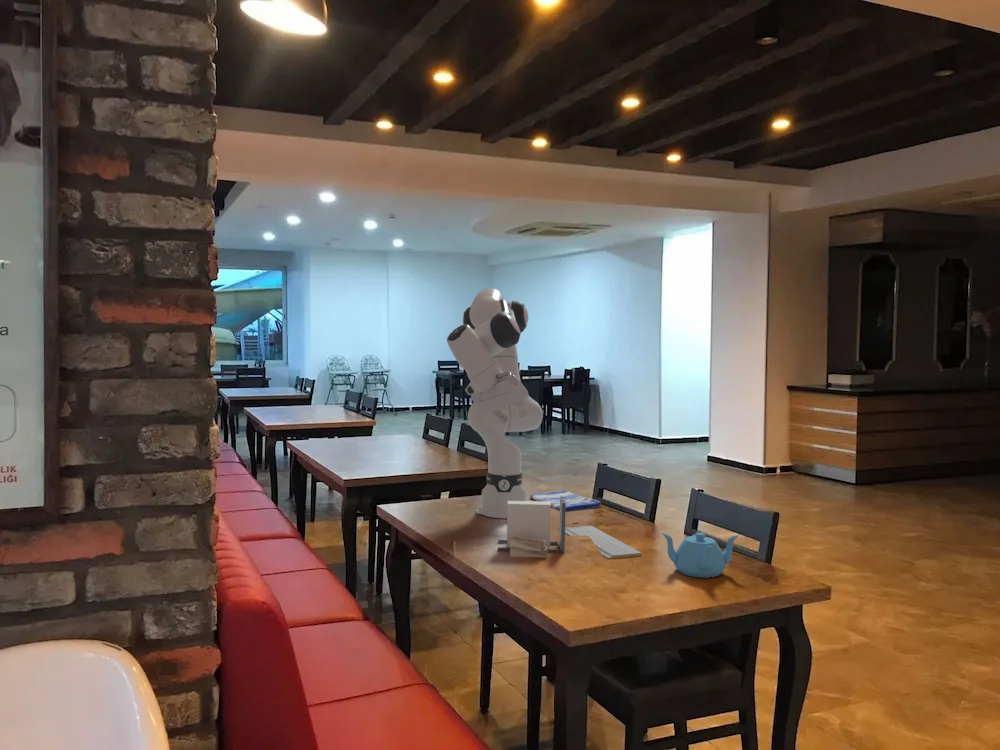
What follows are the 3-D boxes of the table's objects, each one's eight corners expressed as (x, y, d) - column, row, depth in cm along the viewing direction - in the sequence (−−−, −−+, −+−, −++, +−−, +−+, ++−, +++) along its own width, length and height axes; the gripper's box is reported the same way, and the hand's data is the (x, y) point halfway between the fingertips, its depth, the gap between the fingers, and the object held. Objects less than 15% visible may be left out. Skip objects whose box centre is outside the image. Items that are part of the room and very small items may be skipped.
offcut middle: (510, 551, 212) (511, 544, 212) (547, 553, 211) (547, 546, 211) (509, 556, 208) (510, 548, 208) (546, 557, 207) (547, 550, 207)
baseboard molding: (603, 561, 211) (641, 558, 215) (603, 551, 211) (641, 547, 215) (556, 533, 240) (591, 530, 245) (557, 523, 240) (591, 521, 244)
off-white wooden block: (506, 549, 219) (507, 500, 219) (548, 550, 219) (550, 501, 218) (506, 553, 216) (507, 503, 215) (549, 554, 215) (550, 504, 215)
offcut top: (515, 543, 214) (515, 536, 213) (545, 547, 210) (545, 540, 210) (509, 546, 210) (509, 539, 210) (540, 551, 206) (540, 543, 206)
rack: (498, 546, 222) (499, 495, 221) (562, 548, 222) (563, 496, 221) (497, 555, 213) (498, 501, 212) (564, 556, 213) (565, 503, 212)
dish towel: (566, 495, 296) (567, 488, 295) (603, 508, 275) (603, 500, 275) (527, 499, 287) (528, 492, 287) (562, 513, 267) (562, 505, 266)
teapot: (692, 560, 212) (693, 523, 211) (741, 573, 201) (742, 534, 200) (659, 571, 202) (660, 532, 202) (709, 585, 191) (711, 544, 190)
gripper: (516, 364, 208) (544, 405, 210) (476, 379, 224) (502, 418, 226) (501, 376, 204) (530, 418, 206) (462, 391, 220) (488, 430, 223)
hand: (515, 418), depth 216 cm, fingers open, 8 cm apart
